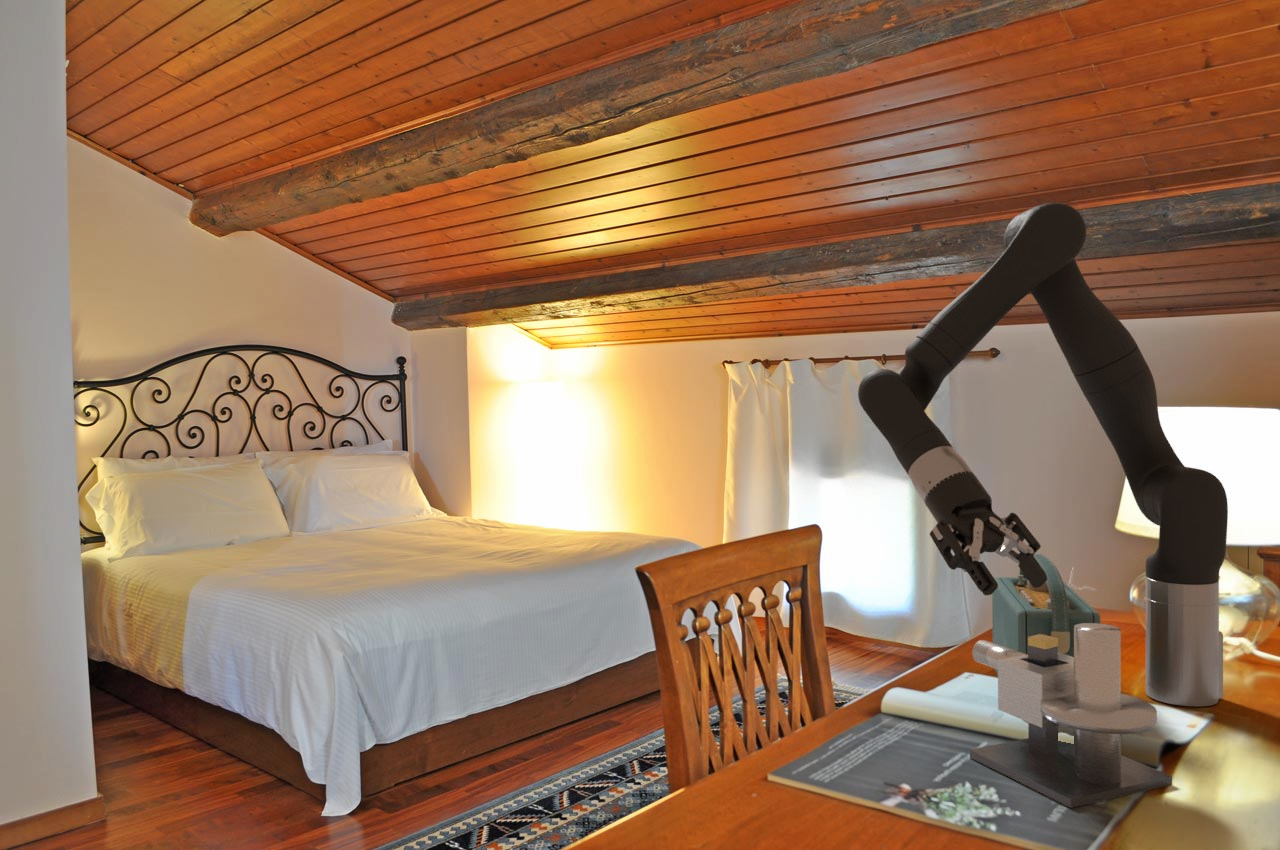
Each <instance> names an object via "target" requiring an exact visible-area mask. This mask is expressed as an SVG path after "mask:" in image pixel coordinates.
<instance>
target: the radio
mask: <svg viewBox="0 0 1280 850" xmlns="http://www.w3.org/2000/svg"><path fill="white" fill-rule="evenodd" d="M1034 557H1035V559H1036V560H1037V562H1038V563H1039V565H1040V566H1041V567H1042V569H1043V570H1044V571H1045V573H1046V576H1047V581H1046V582H1045V583H1044V584H1043V585H1042V586H1041V587H1037V588H1034V587H1033V586H1032V585H1031V583H1030V582H1029V581H1028V579H1027V578H1026V576H1025V575H1024V573H1023V572H1022V571H1021V569H1020V568H1019V574H1018V577H1012V576H1011V577H1009V576H1008V577H1007V576H1006V577H1005V576H999V577H998V576H997V577H994V579H995V580H996V582H997V584H998V588H997V589H996V590H995V591H994V592H993V593H992V594H991V596H992V598H991V599H992V603H991V604H992V611H991V612H992V614H991V615H992V619H991V620H992V622H991V623H992V643H994V644H997V645H1000V646H1003V647H1006V648H1009V649H1012V650H1015V651H1018V652H1021V653H1024V654H1027V655H1028V637H1030V636H1034V635H1038V634H1043V635H1047V636H1052V637H1056V638H1058V652H1059V653H1062V654H1065V655H1068V656H1072V657H1074V626H1075V625H1077V624H1082V623H1098V624H1101V615H1100V614H1099V612H1098V611H1096V609H1094V608H1093V607H1092V606H1091V605H1090V604H1088V602H1087V601H1085V599H1083V598H1082V597H1081V596H1080V595H1079V594H1078V593H1077V592H1075V591H1074V590H1073V588H1072V589H1071V588H1070V587H1069V586H1068V584H1067V583H1066V582H1064V580H1063V578H1062V577H1061V573H1060V571H1059V570H1058V567H1057V566H1056V565H1055V563H1053V561H1052V560H1051V559H1049V558H1048V557H1047V556H1046V555H1044V554H1041V553H1037V554H1036V553H1035V554H1034ZM993 669H994V671H995V673H996V675H997V676H998V669H995V668H993Z"/></svg>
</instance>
